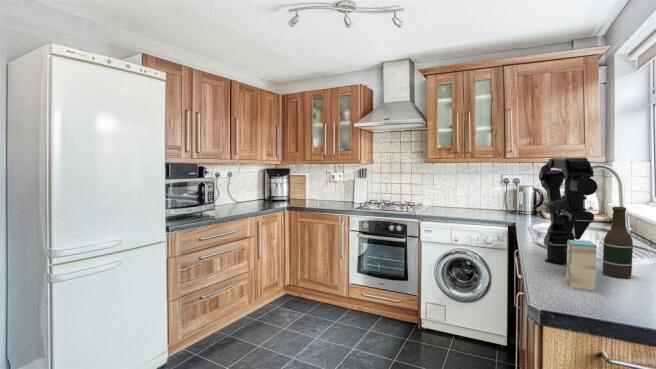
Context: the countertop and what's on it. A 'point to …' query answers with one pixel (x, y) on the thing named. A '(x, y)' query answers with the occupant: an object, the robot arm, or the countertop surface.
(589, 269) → the pine block
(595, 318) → the countertop surface
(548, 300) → the countertop surface
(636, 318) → the countertop surface
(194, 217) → the countertop surface
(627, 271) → the beer bottle
